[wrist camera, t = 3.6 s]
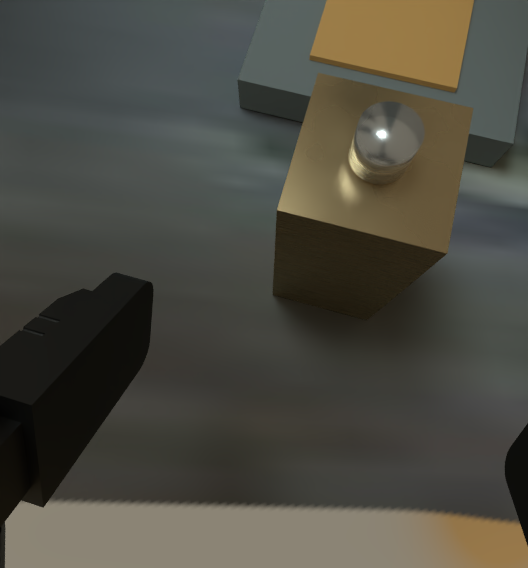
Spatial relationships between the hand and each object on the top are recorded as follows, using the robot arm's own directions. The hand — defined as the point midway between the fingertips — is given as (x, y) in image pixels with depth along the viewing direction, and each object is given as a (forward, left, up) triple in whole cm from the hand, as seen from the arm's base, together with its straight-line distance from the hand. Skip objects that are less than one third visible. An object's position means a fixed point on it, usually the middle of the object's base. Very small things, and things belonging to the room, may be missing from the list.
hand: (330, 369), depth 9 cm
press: (0, +21, -10) cm, 23 cm away
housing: (0, +6, -10) cm, 12 cm away
